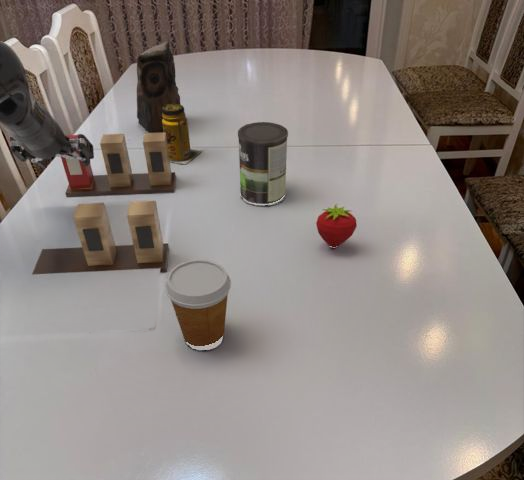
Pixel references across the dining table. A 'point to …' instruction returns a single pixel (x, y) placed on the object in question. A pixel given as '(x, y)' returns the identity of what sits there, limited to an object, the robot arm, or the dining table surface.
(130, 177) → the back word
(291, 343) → the dining table surface
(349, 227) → the strawberry
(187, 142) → the condiment
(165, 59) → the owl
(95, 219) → the front word
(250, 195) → the coffee can
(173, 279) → the disposable coffee cup
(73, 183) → the red labeled block
